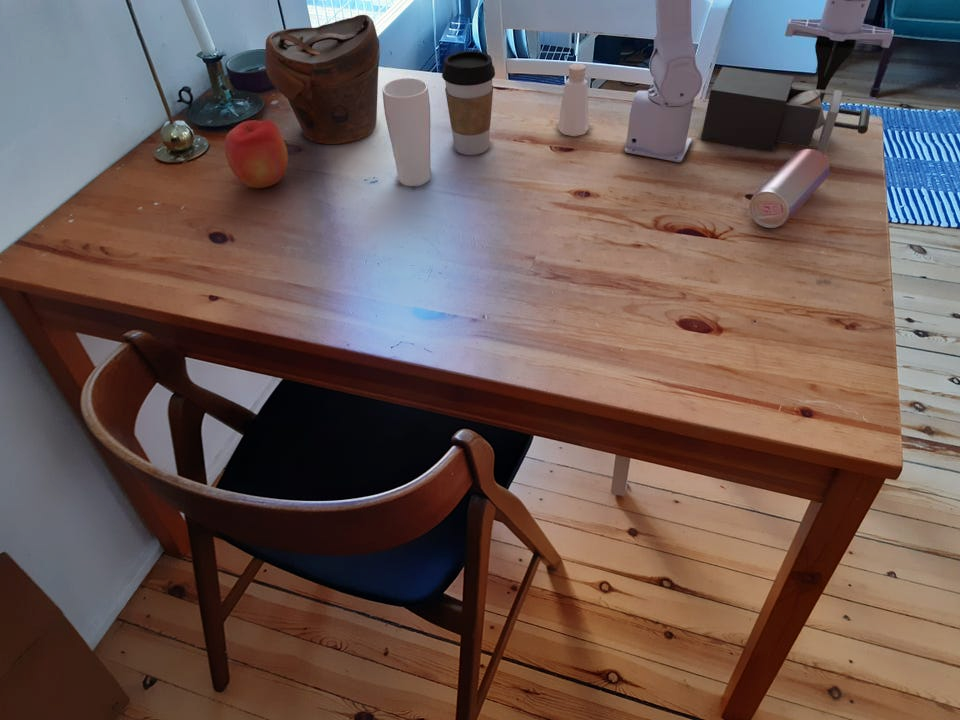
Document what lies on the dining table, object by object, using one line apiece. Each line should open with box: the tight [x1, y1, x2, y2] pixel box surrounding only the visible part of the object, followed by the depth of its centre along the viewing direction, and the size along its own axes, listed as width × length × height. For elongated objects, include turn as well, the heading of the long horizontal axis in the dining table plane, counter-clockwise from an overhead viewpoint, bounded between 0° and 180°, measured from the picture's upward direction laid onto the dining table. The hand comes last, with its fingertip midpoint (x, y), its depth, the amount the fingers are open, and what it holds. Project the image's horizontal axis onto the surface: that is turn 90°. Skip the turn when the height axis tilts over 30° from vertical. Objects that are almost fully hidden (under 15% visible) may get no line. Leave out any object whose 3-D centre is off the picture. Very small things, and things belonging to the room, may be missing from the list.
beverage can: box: [748, 148, 831, 229], centre depth 103 cm, size 6×6×15 cm
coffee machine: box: [700, 66, 795, 152], centre depth 118 cm, size 12×10×9 cm
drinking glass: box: [381, 77, 432, 187], centre depth 108 cm, size 7×7×15 cm
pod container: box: [788, 89, 826, 131], centre depth 115 cm, size 5×5×5 cm
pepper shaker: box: [557, 62, 590, 137], centre depth 120 cm, size 5×5×11 cm
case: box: [264, 14, 381, 145], centre depth 120 cm, size 18×20×18 cm
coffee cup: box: [441, 50, 496, 156], centre depth 115 cm, size 8×8×15 cm
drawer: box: [775, 86, 871, 154], centre depth 115 cm, size 15×8×7 cm, turn 66°
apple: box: [224, 119, 289, 189], centre depth 111 cm, size 10×10×10 cm
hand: (821, 87), depth 111 cm, fingers closed
